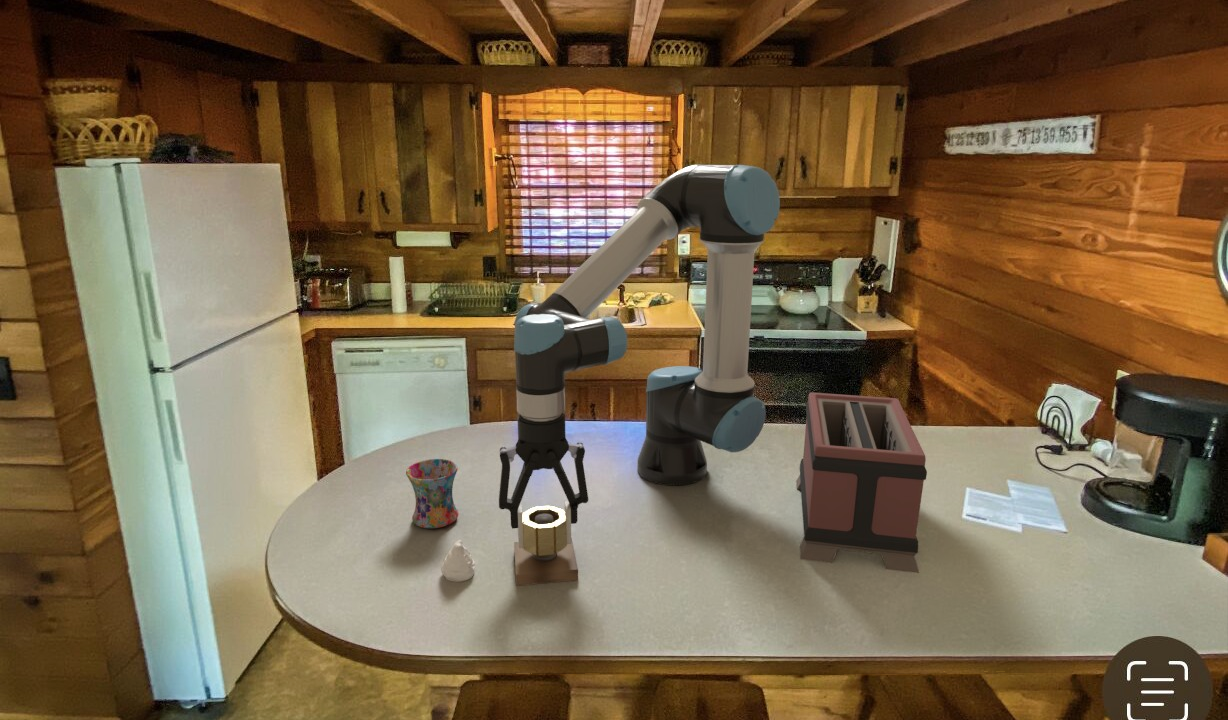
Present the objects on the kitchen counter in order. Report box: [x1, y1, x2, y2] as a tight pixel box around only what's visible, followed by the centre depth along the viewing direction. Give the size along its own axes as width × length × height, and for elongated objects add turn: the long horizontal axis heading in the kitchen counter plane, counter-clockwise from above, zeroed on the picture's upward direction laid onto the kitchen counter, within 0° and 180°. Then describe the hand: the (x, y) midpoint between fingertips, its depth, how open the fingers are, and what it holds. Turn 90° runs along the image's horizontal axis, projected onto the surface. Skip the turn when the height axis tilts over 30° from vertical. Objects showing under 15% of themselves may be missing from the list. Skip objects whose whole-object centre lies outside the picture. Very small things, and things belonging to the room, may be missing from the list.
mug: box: [405, 458, 459, 529], centre depth 136 cm, size 12×9×11 cm
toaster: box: [795, 392, 928, 574], centre depth 135 cm, size 19×34×21 cm, turn 168°
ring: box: [522, 505, 567, 556], centre depth 119 cm, size 7×7×5 cm
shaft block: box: [513, 514, 579, 586], centre depth 120 cm, size 10×10×9 cm
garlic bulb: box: [440, 539, 476, 583], centre depth 118 cm, size 6×6×5 cm
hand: (544, 541), depth 120 cm, fingers closed on ring, 7 cm apart
